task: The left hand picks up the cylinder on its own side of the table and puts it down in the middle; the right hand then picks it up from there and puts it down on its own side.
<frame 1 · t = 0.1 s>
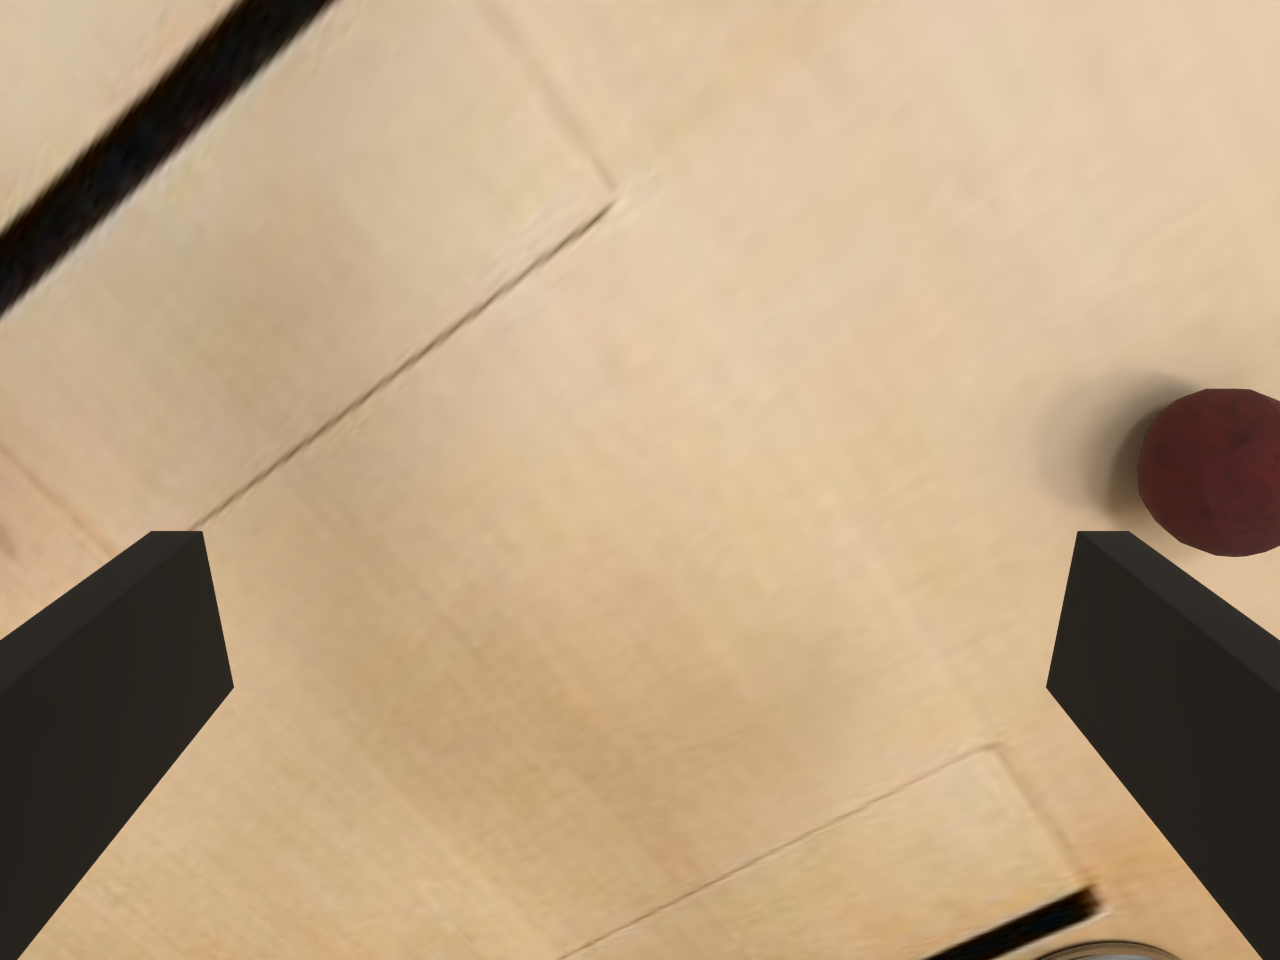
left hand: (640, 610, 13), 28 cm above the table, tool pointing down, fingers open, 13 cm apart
dark red ball: (1178, 445, 41), on the table
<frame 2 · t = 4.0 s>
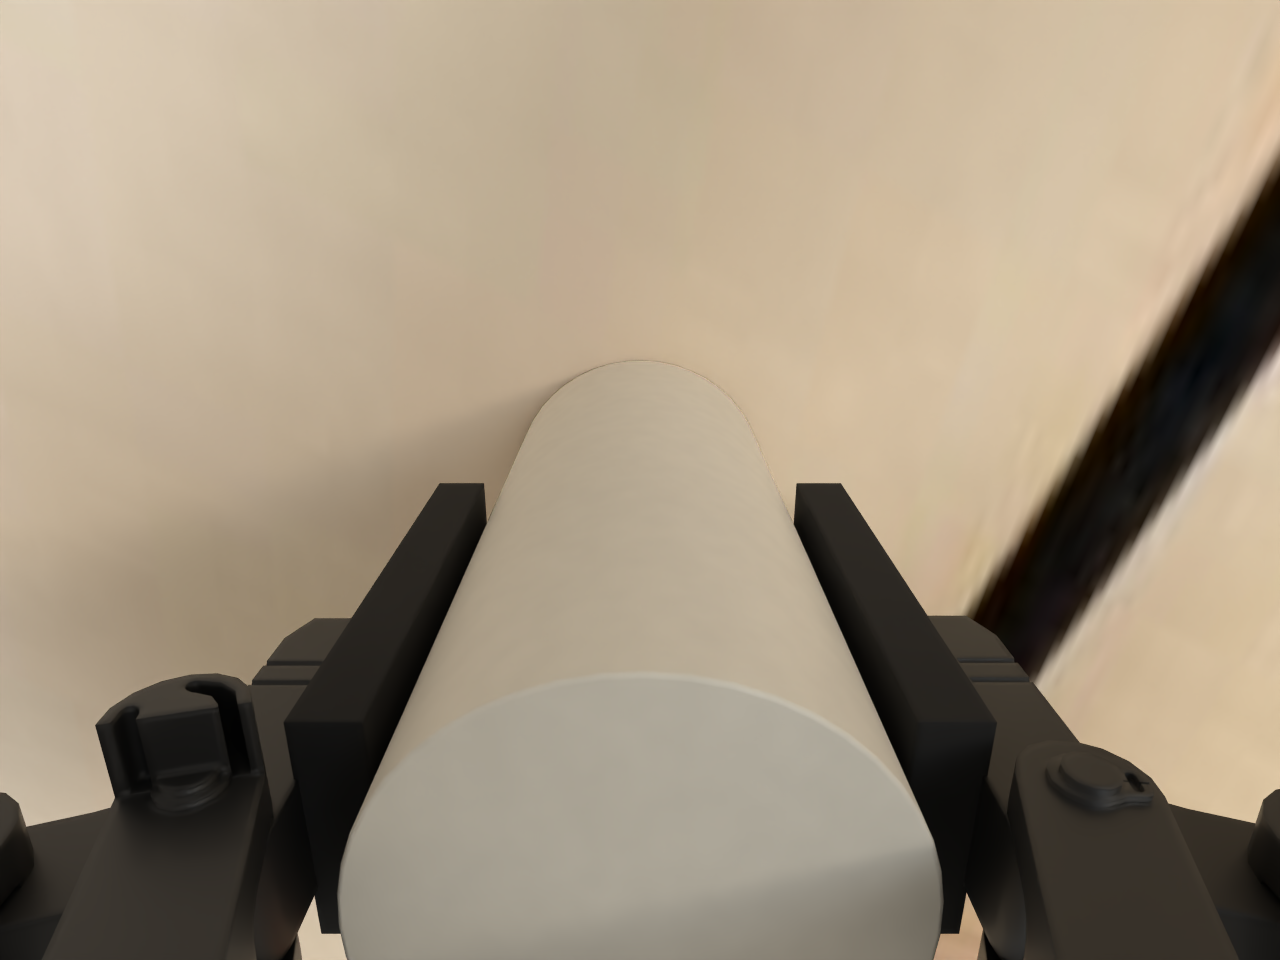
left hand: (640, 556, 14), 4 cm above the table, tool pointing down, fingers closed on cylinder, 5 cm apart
cylinder: (640, 479, 18), on the table, touching left hand
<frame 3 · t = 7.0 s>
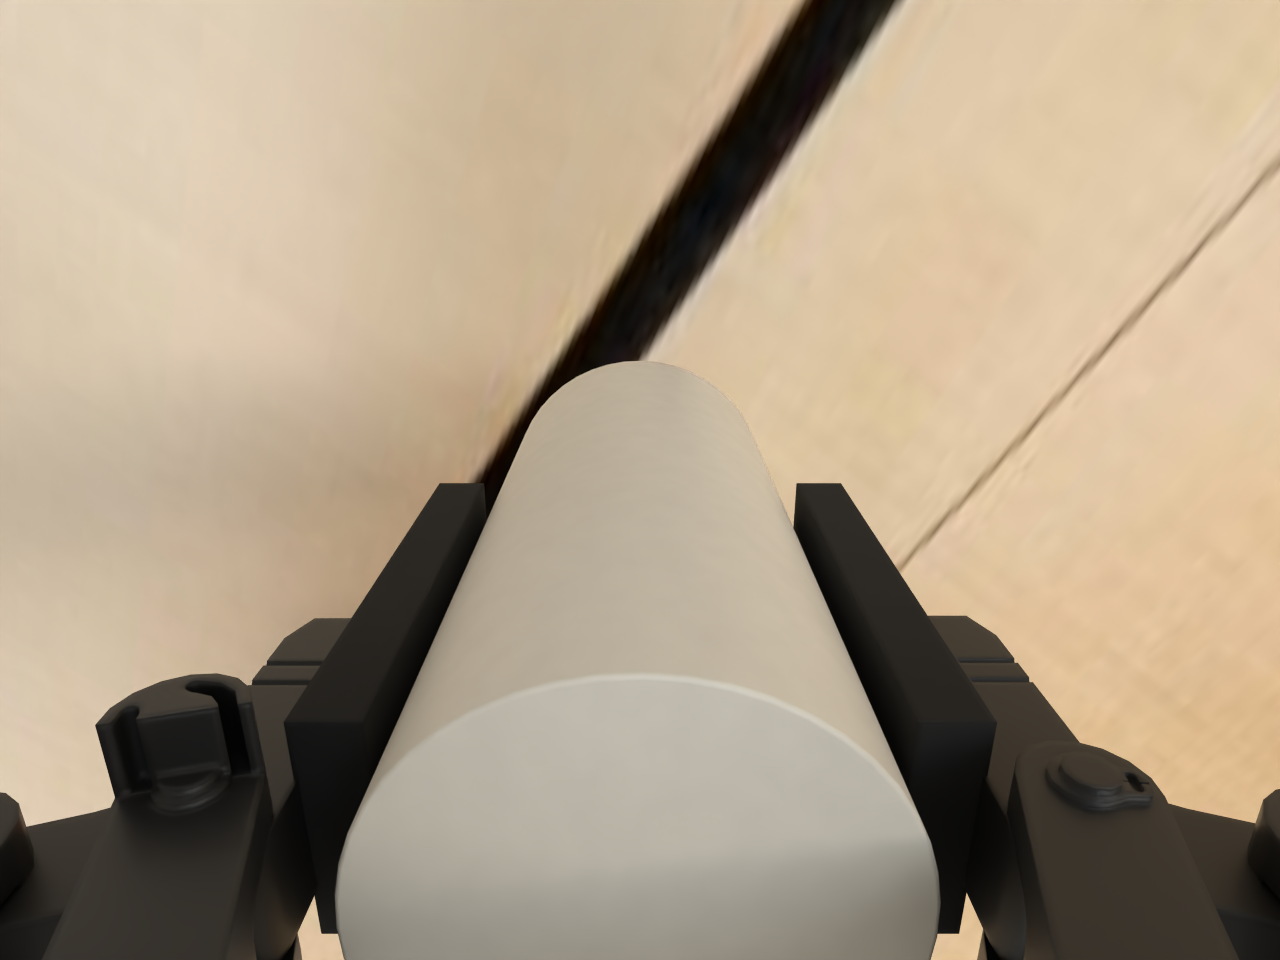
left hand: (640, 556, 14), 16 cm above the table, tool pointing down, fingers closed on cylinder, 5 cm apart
cylinder: (638, 480, 18), point 12 cm above the table, touching left hand
when the left hand's fingers open (5 cm above the table, at t = 10.3 s): cylinder drops 2 cm, on the table.
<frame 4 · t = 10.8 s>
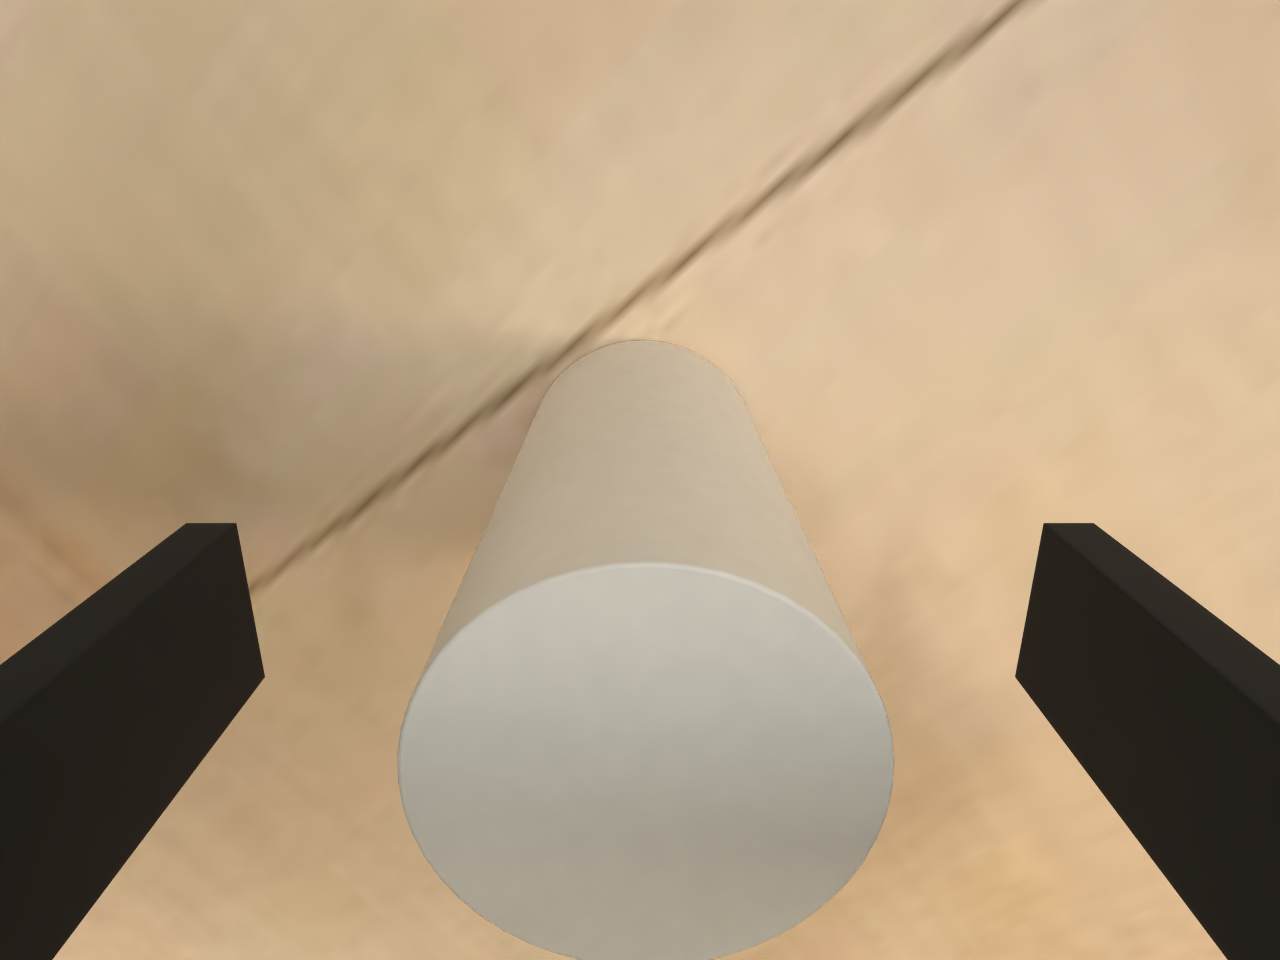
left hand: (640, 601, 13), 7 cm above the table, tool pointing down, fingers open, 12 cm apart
cylinder: (642, 450, 20), on the table
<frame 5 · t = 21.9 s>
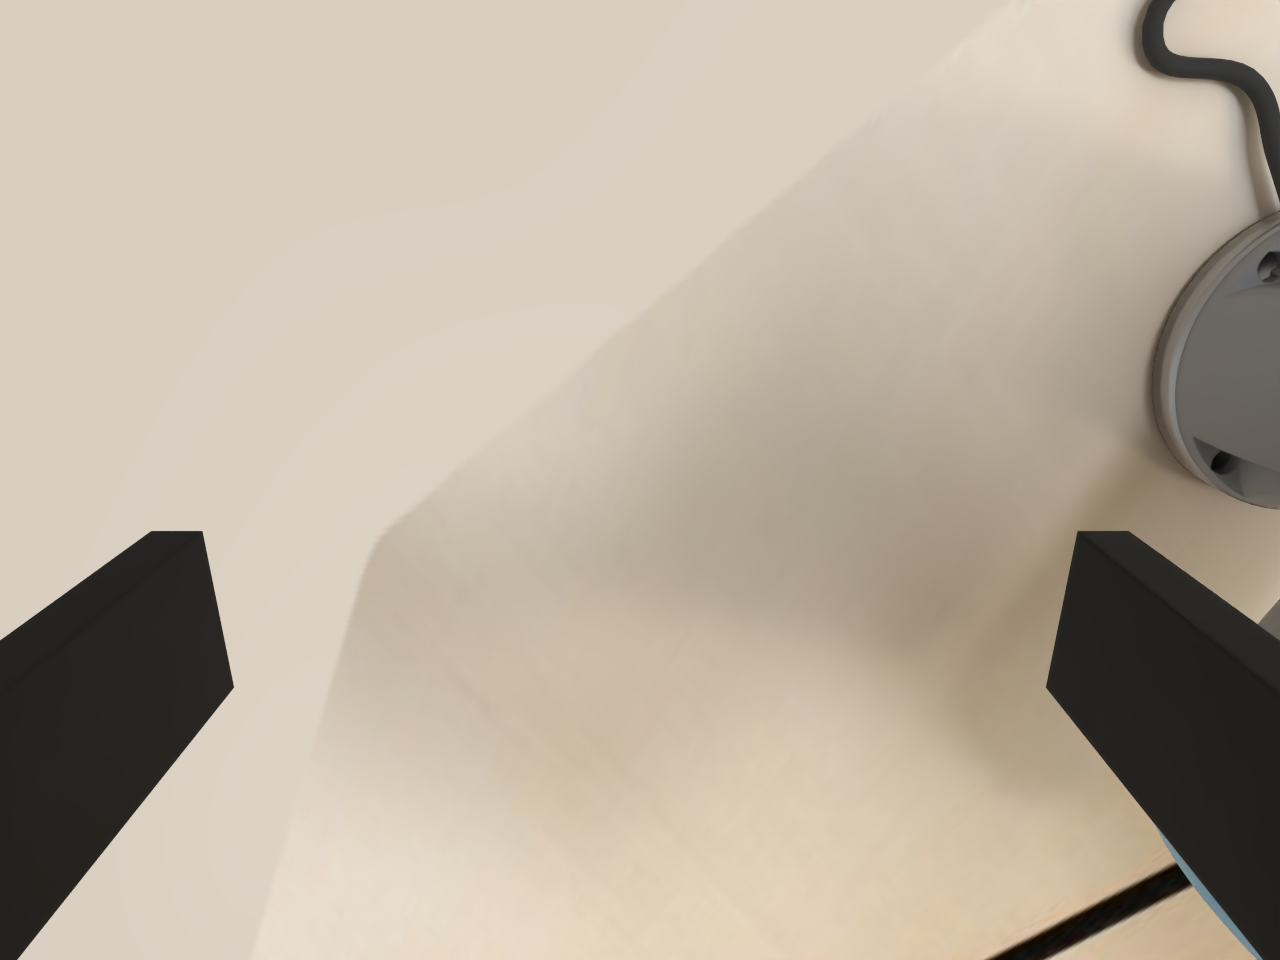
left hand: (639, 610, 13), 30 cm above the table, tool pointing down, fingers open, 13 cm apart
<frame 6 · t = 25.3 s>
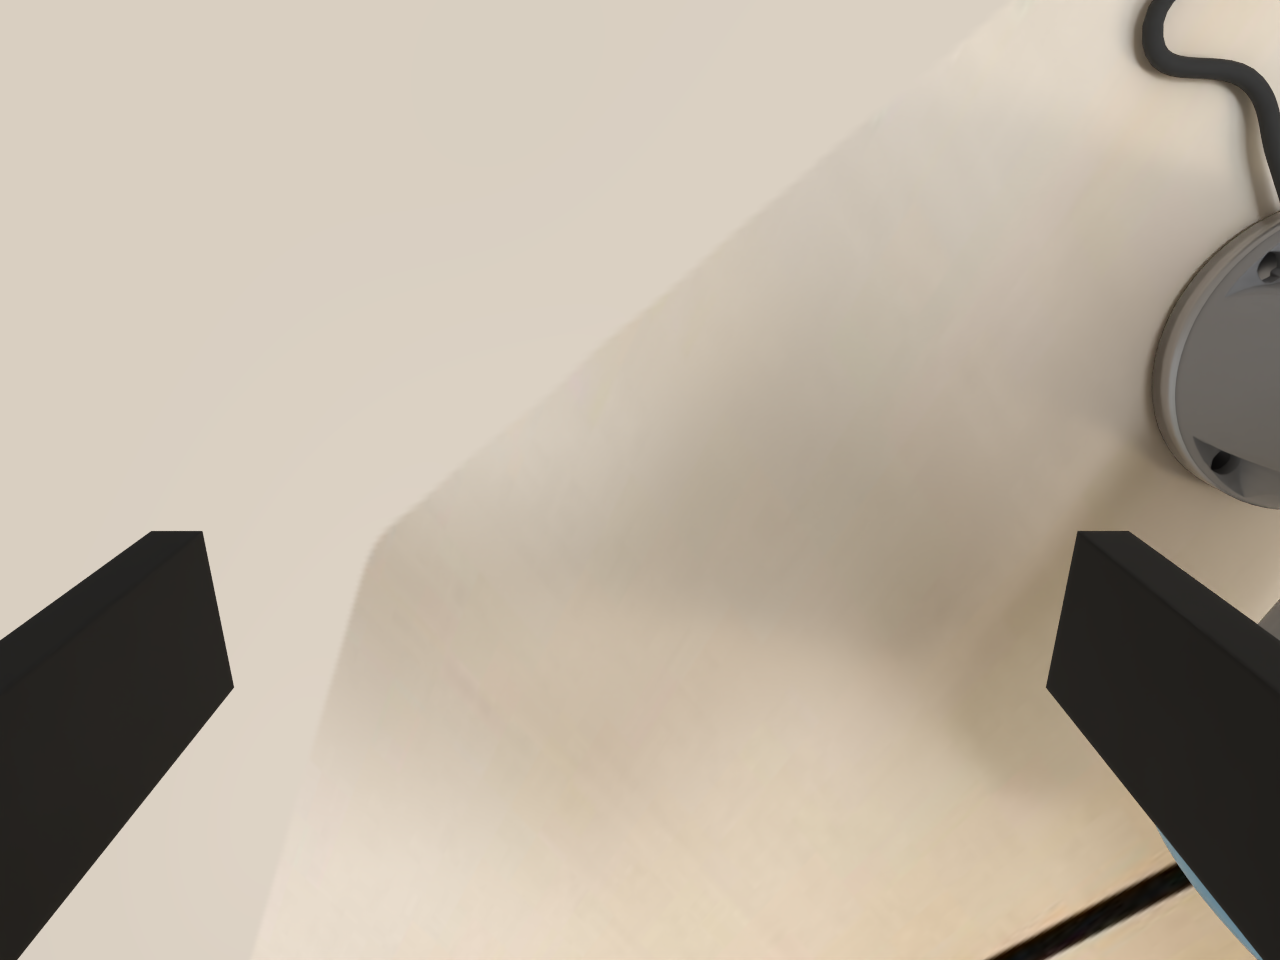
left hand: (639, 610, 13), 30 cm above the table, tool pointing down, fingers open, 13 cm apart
when the right hand's fingers open (5 cm above the table, at t = 28.7 s): cylinder drops 2 cm, on the table.
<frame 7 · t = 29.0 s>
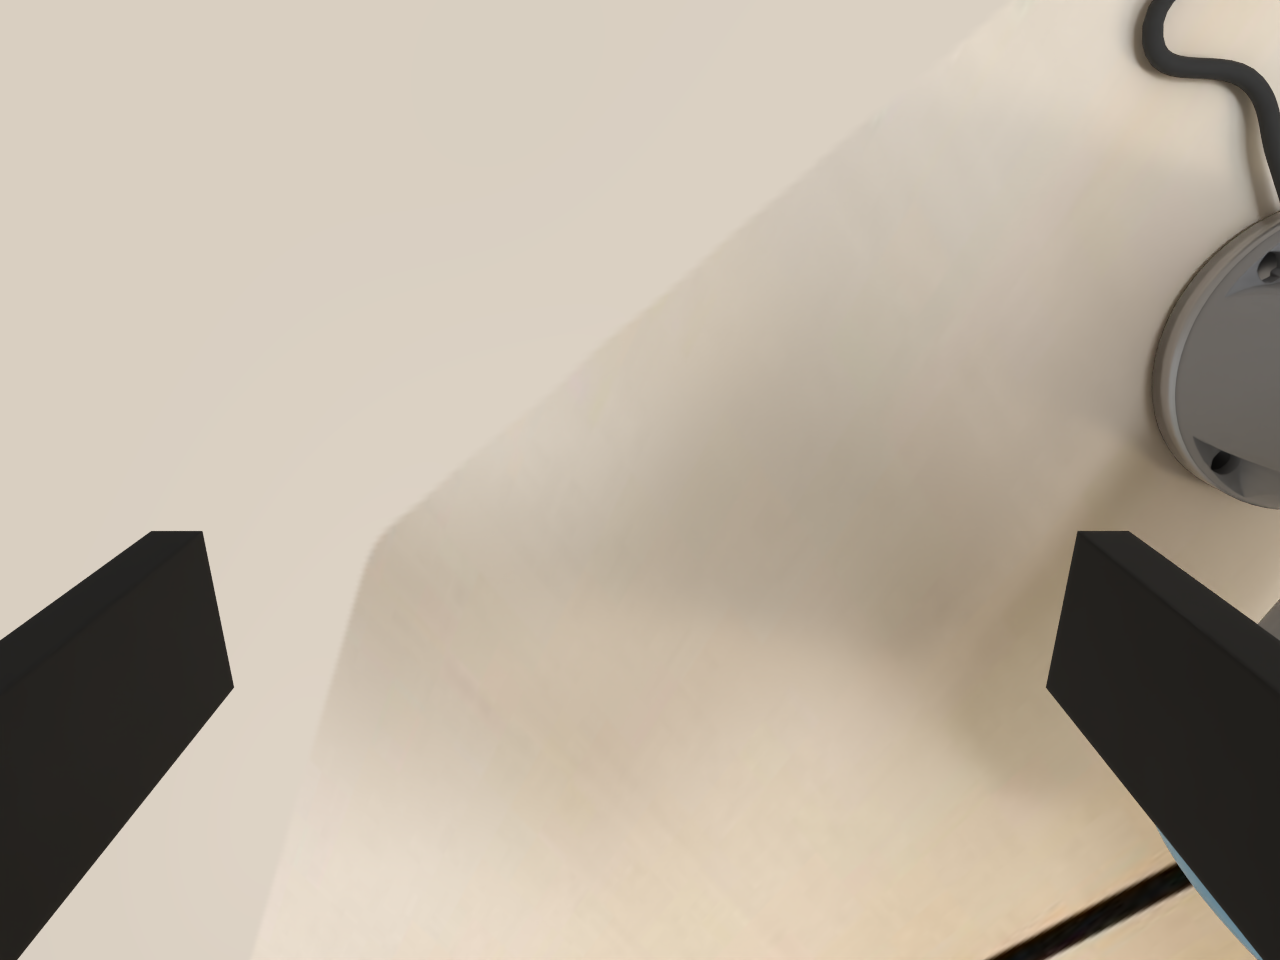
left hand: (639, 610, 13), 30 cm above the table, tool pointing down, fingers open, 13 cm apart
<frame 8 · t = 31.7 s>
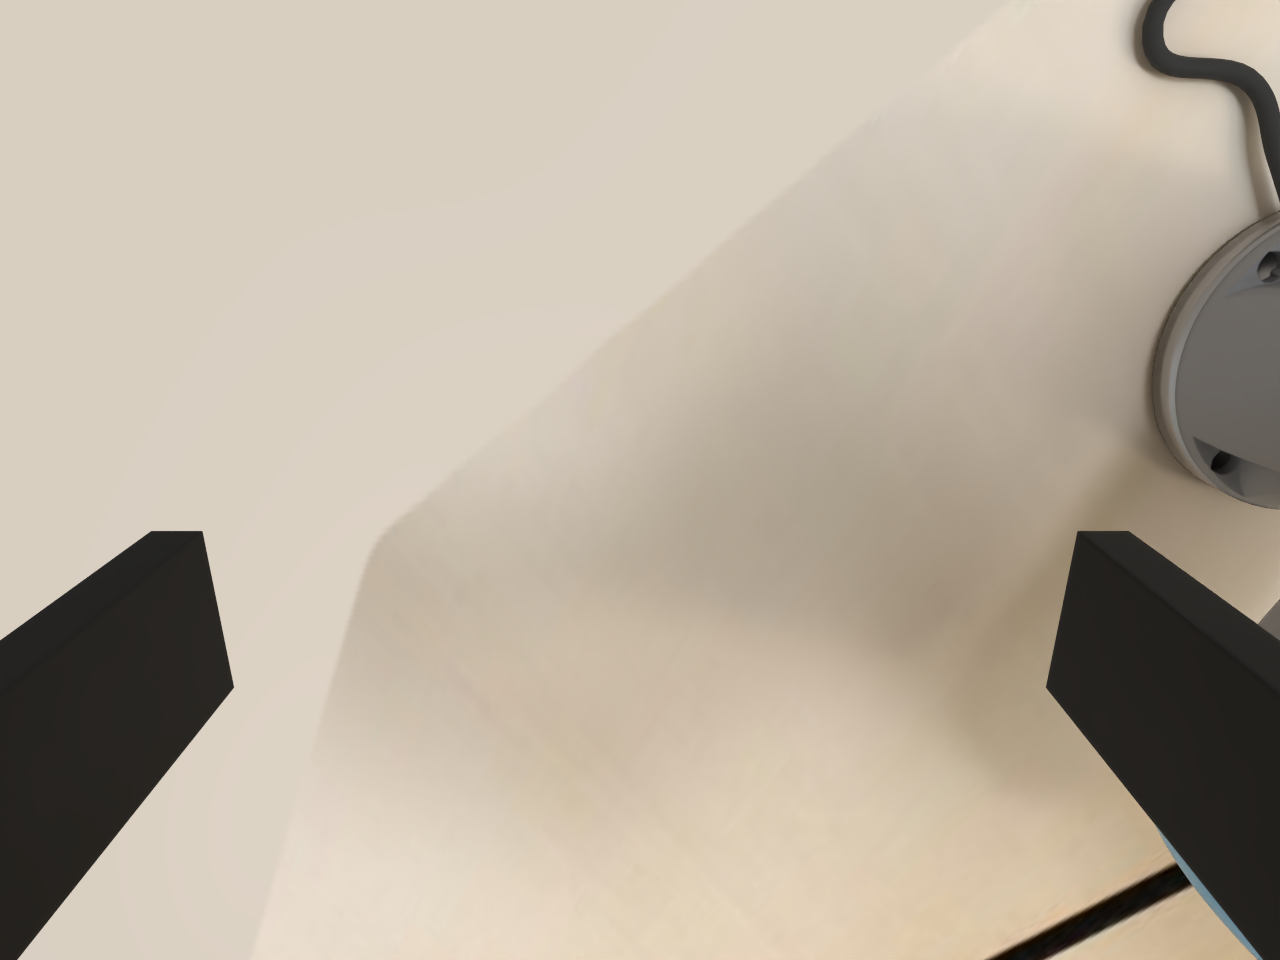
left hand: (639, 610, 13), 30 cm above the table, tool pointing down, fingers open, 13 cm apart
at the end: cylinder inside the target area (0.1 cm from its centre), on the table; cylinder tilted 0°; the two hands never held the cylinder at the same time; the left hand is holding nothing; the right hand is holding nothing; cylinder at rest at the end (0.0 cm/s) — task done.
